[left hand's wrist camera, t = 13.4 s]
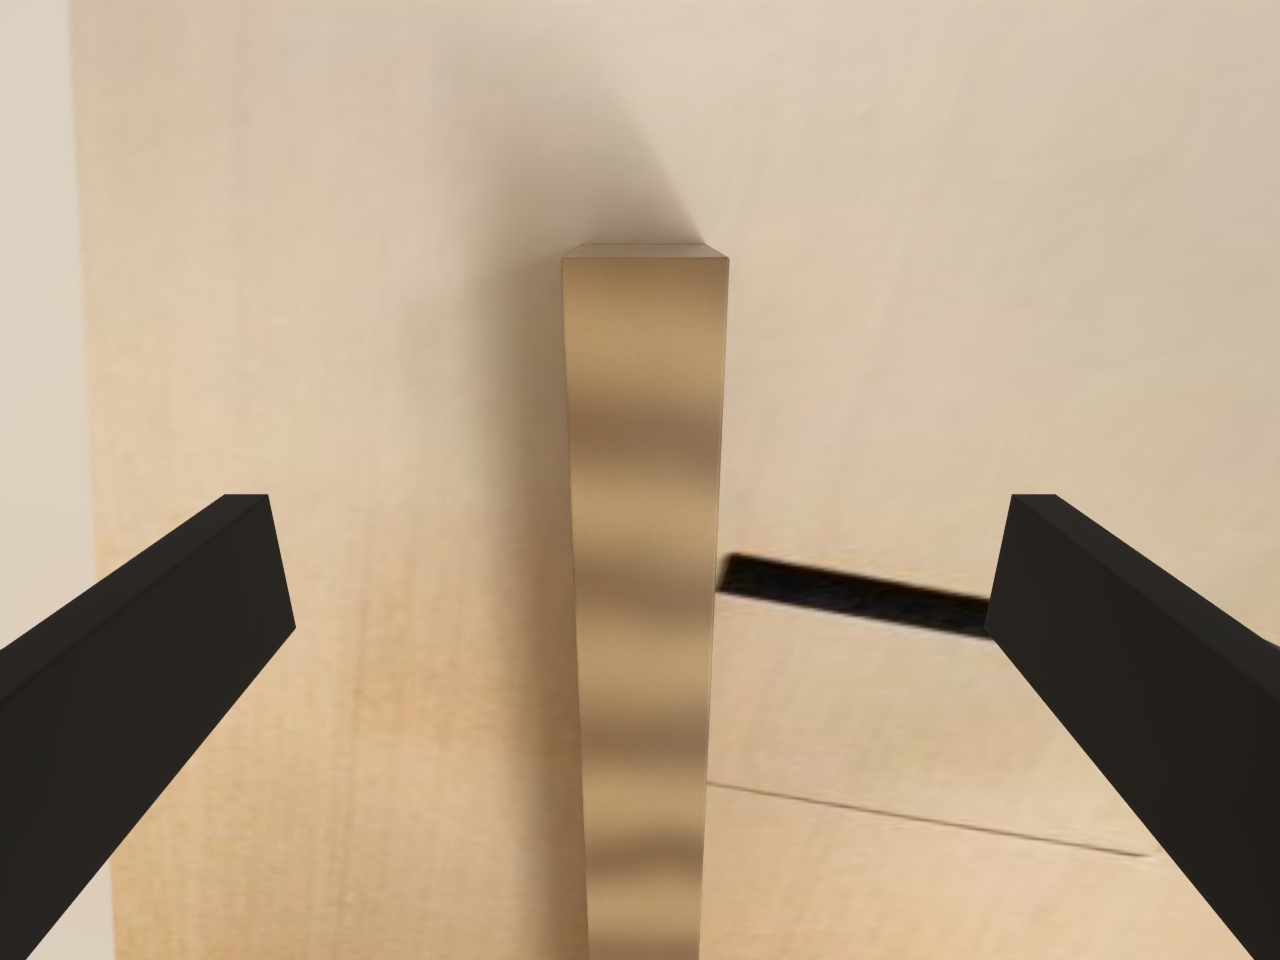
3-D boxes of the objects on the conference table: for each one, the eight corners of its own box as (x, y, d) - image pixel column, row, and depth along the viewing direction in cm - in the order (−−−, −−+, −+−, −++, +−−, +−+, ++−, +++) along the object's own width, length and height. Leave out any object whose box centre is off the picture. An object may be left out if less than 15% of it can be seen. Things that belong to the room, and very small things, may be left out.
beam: (580, 244, 31) (560, 257, 23) (707, 244, 31) (729, 257, 23) (607, 1138, 55) (602, 1291, 48) (678, 1138, 55) (684, 1291, 48)
